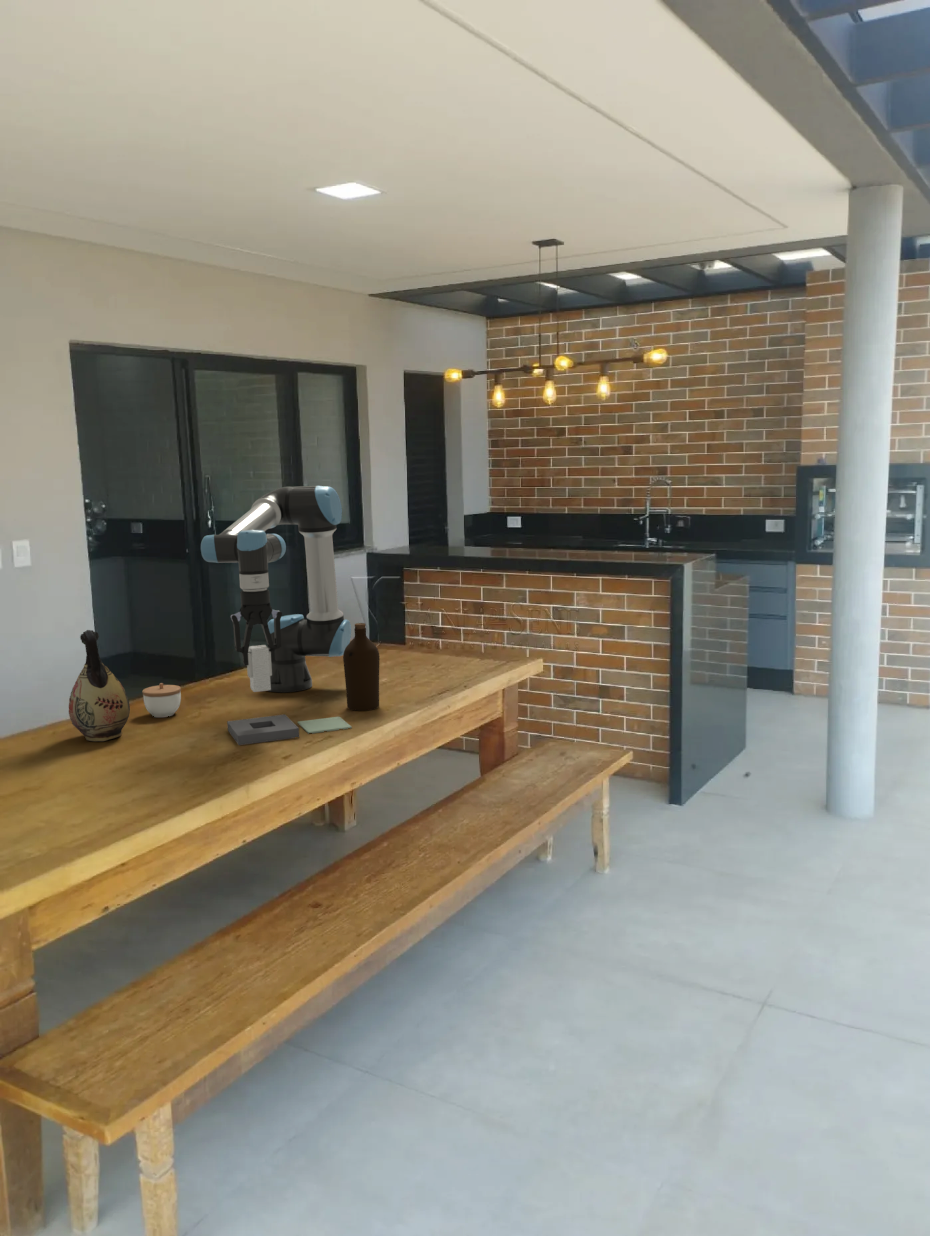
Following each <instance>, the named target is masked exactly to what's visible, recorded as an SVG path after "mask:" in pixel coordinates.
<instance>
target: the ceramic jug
mask: <svg viewBox="0 0 930 1236" xmlns="http://www.w3.org/2000/svg"><path fill="white" fill-rule="evenodd" d="M79 638H80V640H81V643H82V644H84V647H85V653H86V656H85V663H84V665H83V668H82V670H80V673H79V674H78V677H77V679H76V681H75V683H74V685H73V687H72V689H71V692H70V696H69V700H68V716H69V720H70V721H71V724H72V725H73V727H74V728H76V729H77V730H78V731H79V732H80V733H81V734H82V736H84V737H85V740H86V741H90V742H106V741H108V740H112V739H116V738H118V737H121V736H122V734H123V733H122V730H123V728H124V727H125V726H126V723H127V722H128V720H129V717H130V713H131V707H130V706H131V705H130V700H129V697H128V695H127V692H126V690H125V687H123V685H122V683H121V681H119V679H118V678H117V677H116V676H115V674H114V673H113V672H112V671H111V670H110V669H109V668H108V666H106V665H105V664H104V663H103V660H102V659H101V657H100V653H99V647H98V643H97V642H98V640H99V638H100V635H99V632H97V631H94V630H91V629H87V630H86V631H83V633H81V634H80V635H79Z"/></svg>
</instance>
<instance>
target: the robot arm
mask: <svg viewBox="0 0 930 1236" xmlns="http://www.w3.org/2000/svg"><path fill="white" fill-rule="evenodd" d="M342 514H343V508H342V502H341V499H340V496H339V494H338V493H337V491H336V490H335V488H333V487H331V486H329V485H328V486H327V485H326V486H324V485H323V486H322V485H307V486H306V485H304V486H303V485H300V486H283V487H279V488H276V489H274V490H272V491H269V492H268V493H265V494H264V495H262V496H260V497H259V498H257V499H256V500H255V501H254V502H253V503H252V505H251V506H250V509H249V510H248V511H246V513H244V514H243V515H242V516H241V517H239V518H237V520H235V521H234V522H233V523H232V524H231V525H229V526H228V527H227V528H226V529H224V530H223V531H222V532H221V533H219V534H209V535H205V536H204V537H203V538H202V540H201V543H200V552H201V553H200V554H201V557H202V558H203V560H204V561H205V562H208V563H217V564H219V563H221V564H223V563H225V564H226V563H228V564H230V563H233V564H234V563H238V573H239V577H238V578H239V588H240V590H241V591H240V592H239V594H240V608H239V611H238V612H235V613H234V614H233V613H232V614H230V616H229V618H230V620H231V621H232V628H233V640H234V649H235V651H236V652H238V653H242V664H243V666H246V667H247V668H246V671H247V677H248V678H249V679H250V678H252V662H251V653H250V652H248V650H249V646H250V644H251V638H252V633H253V628H254V625H261V629H262V631H263V634H264V637H265V640H266V644H267V645H266V646H267V647H268V649H269V666H270V684H271V690H267V691H268V692H271V693H272V692H273V693H292V692H293V693H294V692H300V691H305V690H308V689H311V687H313V678H312V676H311V673H310V670H309V668H308V665H307V662H306V660H307V659H306V657H329V658H333V657H342V656H343V654H344V650H345V648H346V647H347V645H348V644H349V643H350V642H351V638H352V625H351V622H350V620H349V619H345V617H344V612H343V611H342V610H340V609H339V602H338V591H337V581H336V580H337V579H336V568H335V554H334V543H333V535H334V532H336V530H337V525H339V524H340V523H341V522H342V517H343V516H342ZM280 525H281V526H282V525H297V527H298V532H299V533H300V534H301V535H302V536H303V538H304V548H305V560H306V571H307V582H308V583H307V584H308V595H309V605H310V611H309V613H307V614H306V619H305V617H304V615H303V614H299V613H297V614H296V613H295V614H287V615H283V612H282V611H280V610H278V609H277V610H275V609H273V608H272V606H271V597H270V590H269V589H268V588H269V587H270V583H269V582H270V581H269V579H270V577H269V564H270V563H275V562H277V561H278V560H281V558H282V557H284V555H285V553H286V551H287V544H286V542H285V540H284V538H283V537H282V536H281V535H279V534H277V533H266V531H267V530H269V529H274V528H275V527H277V526H280ZM271 614H272V619H270V620H269V621H268V619H269V617H270V616H271ZM241 617H242V618H243V619H244V620H245V630H244V635H243V640H242V641H243V642H241V631H240V623H239V622H240V621H241Z"/></svg>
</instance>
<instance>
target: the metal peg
mask: <svg viewBox="0 0 930 1236" xmlns="http://www.w3.org/2000/svg"><path fill="white" fill-rule="evenodd" d="M248 652H250V653H251V662H252V678H249V684H250V689H251V691H252V692H253V693H258V692H266V691H267V690H271V684H270V666H269V649H268V645H266V644H261V645H260V644H259V645H249V650H248Z"/></svg>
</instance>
